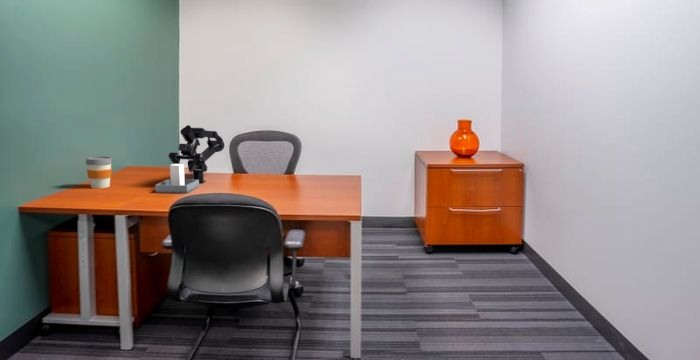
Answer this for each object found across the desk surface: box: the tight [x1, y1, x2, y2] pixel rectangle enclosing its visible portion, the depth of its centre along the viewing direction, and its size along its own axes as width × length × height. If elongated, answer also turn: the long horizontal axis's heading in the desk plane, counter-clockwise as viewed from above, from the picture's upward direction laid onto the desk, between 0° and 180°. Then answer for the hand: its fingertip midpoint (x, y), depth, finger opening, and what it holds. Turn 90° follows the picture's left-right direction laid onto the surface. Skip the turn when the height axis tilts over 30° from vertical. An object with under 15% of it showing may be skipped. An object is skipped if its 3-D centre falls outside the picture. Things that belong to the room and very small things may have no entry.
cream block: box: [169, 163, 185, 185], centre depth 310 cm, size 5×5×12 cm
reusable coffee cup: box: [85, 156, 113, 189], centre depth 317 cm, size 13×13×15 cm
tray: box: [154, 178, 200, 195], centre depth 311 cm, size 18×16×4 cm
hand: (182, 171), depth 315 cm, fingers open, 9 cm apart
